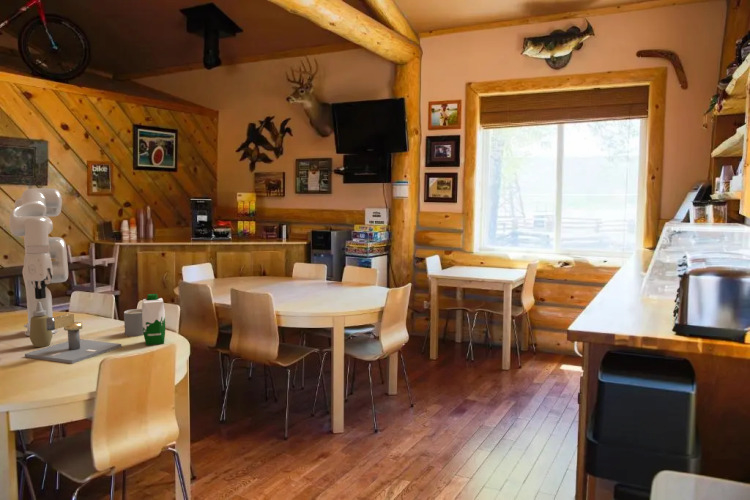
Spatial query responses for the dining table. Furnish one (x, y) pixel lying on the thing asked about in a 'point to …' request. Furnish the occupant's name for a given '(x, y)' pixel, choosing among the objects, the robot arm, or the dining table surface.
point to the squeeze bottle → (39, 328)
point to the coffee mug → (133, 322)
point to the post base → (72, 353)
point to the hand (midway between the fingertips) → (40, 298)
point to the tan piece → (63, 323)
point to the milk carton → (153, 319)
